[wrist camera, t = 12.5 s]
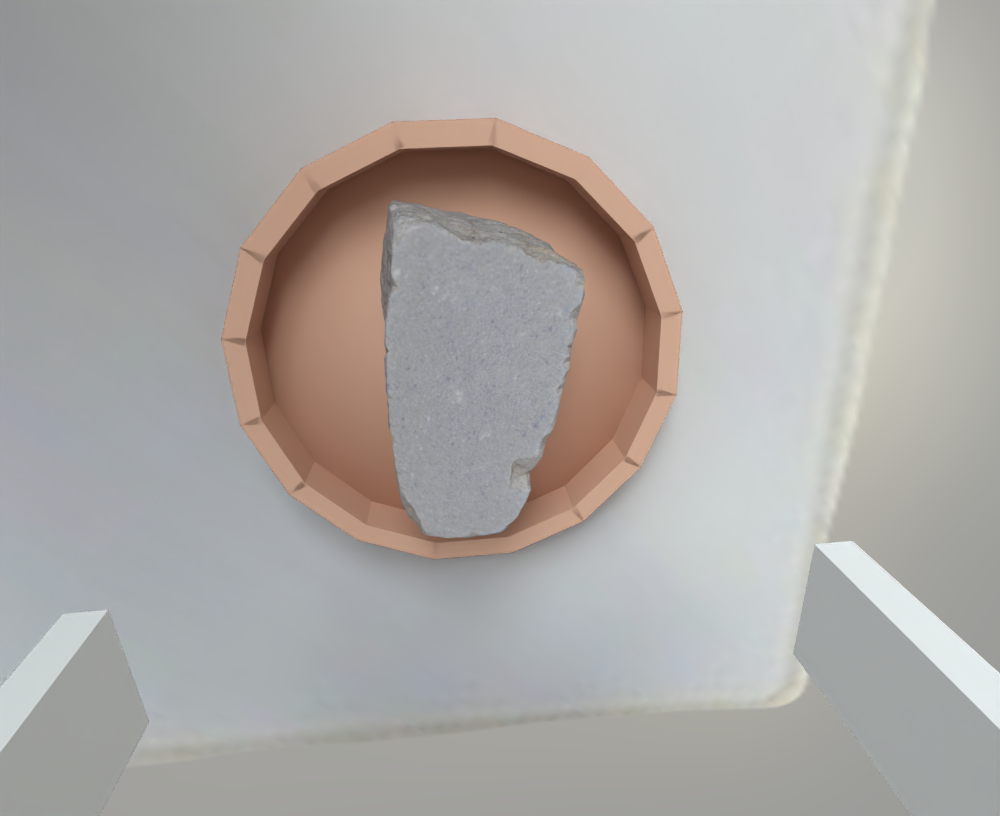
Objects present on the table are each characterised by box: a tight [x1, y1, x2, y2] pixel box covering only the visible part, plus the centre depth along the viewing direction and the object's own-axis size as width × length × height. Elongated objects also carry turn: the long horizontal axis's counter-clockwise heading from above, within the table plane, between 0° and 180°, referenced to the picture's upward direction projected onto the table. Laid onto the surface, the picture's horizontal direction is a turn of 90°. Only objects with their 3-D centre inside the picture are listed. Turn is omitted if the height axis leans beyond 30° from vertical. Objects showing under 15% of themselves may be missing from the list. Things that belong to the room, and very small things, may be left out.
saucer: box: [221, 118, 683, 559], centre depth 29 cm, size 21×21×3 cm
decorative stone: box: [380, 200, 585, 538], centre depth 26 cm, size 15×7×10 cm
